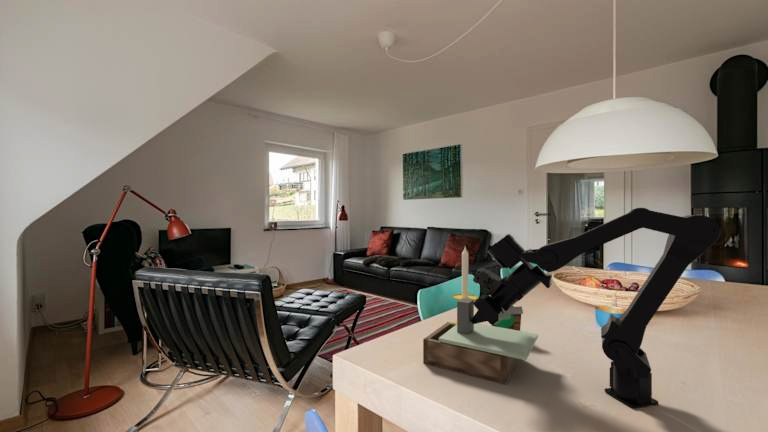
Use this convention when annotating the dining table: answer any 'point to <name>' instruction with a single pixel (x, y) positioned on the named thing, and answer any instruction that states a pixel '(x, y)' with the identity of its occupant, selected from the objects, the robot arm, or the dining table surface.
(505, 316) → the food container
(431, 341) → the walnut box
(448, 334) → the lid
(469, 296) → the candle
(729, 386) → the dining table surface
